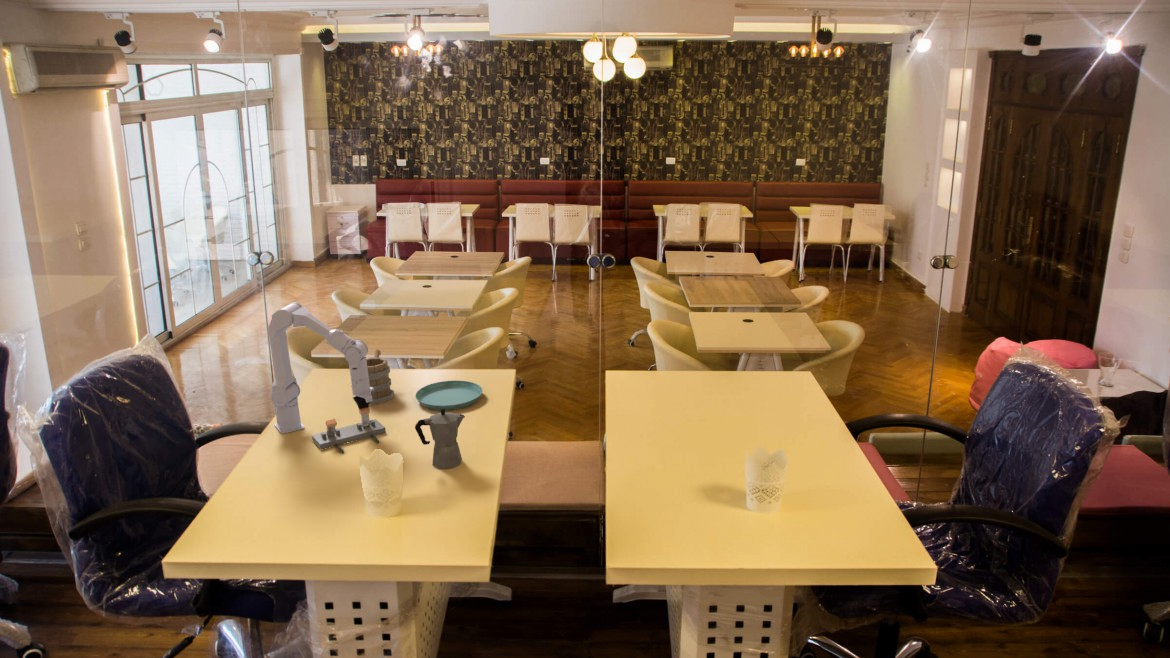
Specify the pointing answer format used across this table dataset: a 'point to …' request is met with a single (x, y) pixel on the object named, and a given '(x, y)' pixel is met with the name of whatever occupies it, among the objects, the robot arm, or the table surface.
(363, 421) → the lever
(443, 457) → the coffeepot
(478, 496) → the table surface
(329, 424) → the lever
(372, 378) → the tankard
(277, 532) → the table surface
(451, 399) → the saucer
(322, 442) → the breaker block
